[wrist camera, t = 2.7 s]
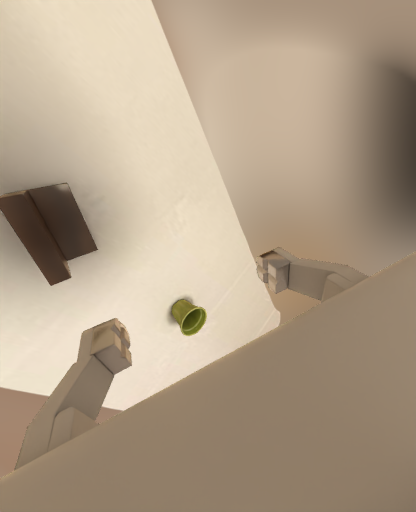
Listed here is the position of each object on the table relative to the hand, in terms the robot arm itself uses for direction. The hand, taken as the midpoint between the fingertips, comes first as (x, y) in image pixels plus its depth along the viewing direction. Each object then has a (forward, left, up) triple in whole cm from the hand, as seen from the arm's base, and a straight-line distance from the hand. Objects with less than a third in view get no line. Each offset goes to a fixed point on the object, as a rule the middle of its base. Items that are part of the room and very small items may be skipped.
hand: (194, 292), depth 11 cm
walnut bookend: (-4, -4, -40) cm, 40 cm away
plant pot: (+26, -30, -40) cm, 56 cm away
